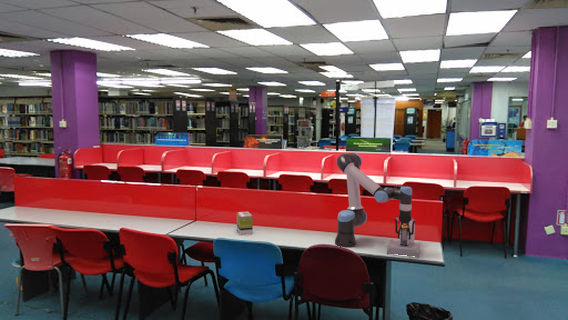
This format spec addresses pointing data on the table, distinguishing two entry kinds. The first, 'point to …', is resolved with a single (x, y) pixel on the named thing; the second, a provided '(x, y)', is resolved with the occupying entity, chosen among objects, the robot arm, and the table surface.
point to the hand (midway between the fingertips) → (403, 243)
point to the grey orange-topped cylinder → (404, 234)
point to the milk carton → (411, 231)
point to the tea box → (244, 223)
